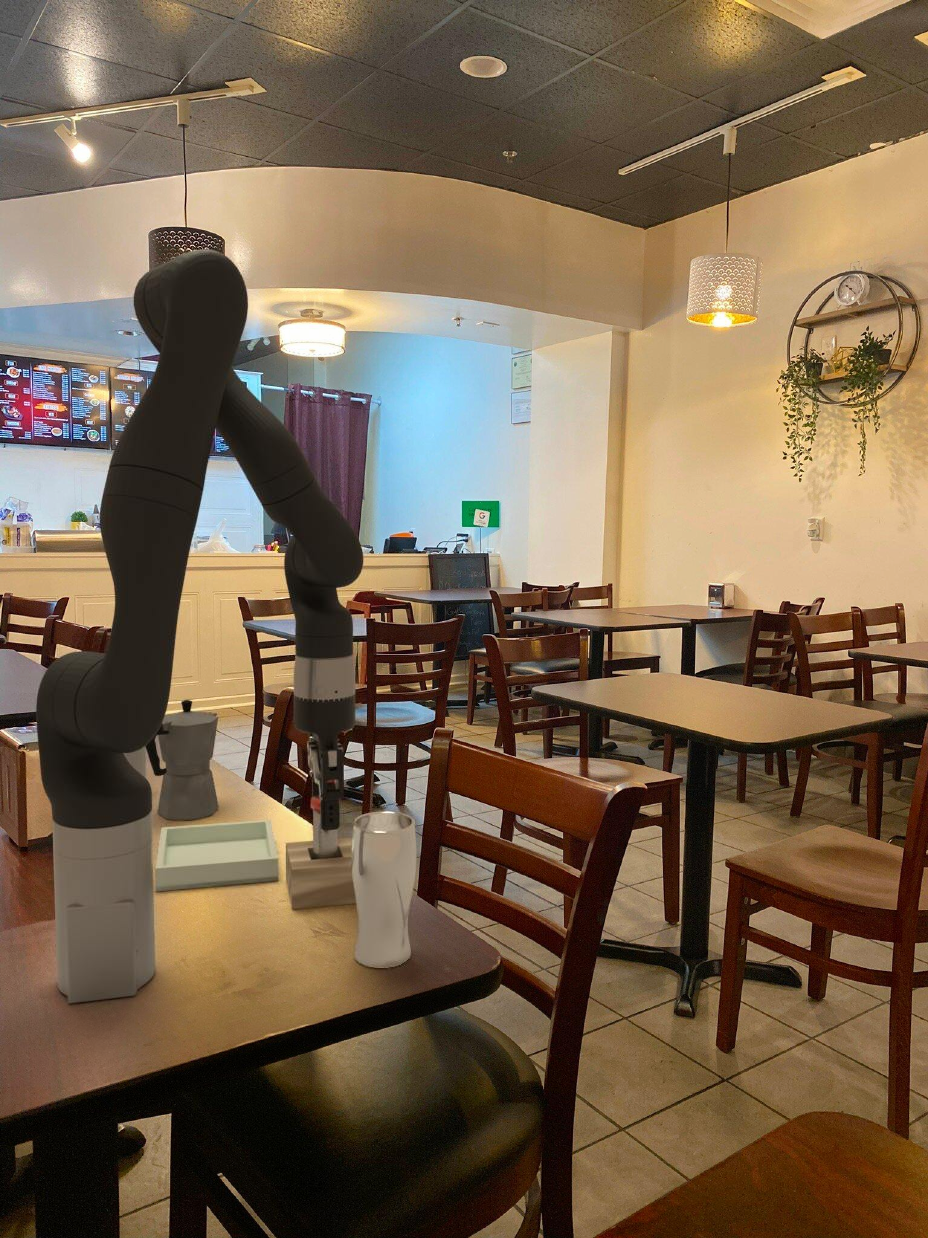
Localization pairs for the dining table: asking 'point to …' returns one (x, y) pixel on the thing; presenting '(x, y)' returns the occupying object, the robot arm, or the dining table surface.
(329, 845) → the pin
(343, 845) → the block
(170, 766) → the coffeepot
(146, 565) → the robot arm
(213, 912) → the dining table surface
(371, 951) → the beer glass
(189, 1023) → the dining table surface
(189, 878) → the tray
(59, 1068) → the dining table surface
